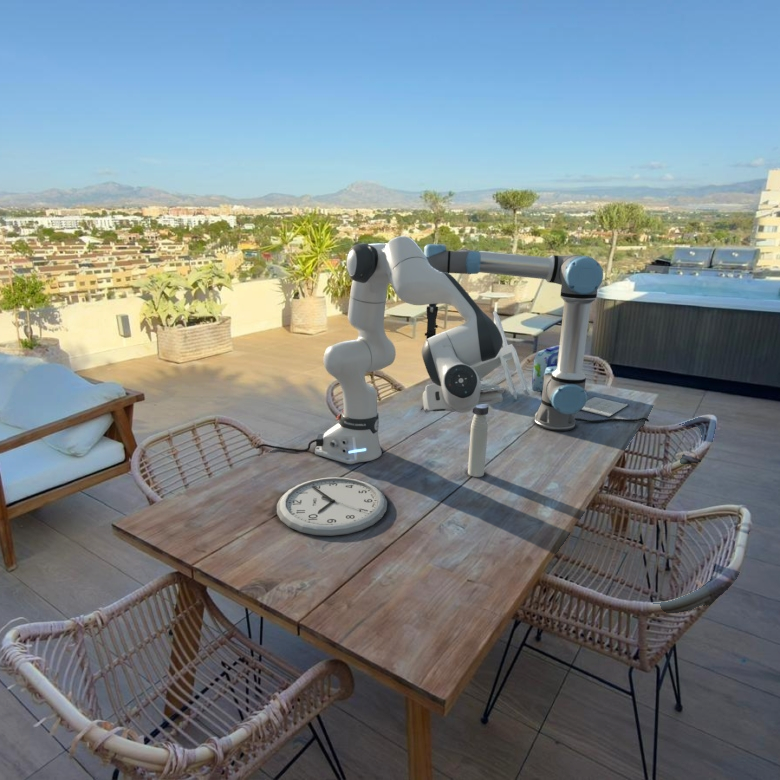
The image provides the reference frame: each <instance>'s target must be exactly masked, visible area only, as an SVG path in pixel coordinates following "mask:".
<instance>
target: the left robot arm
mask: <svg viewBox="0 0 780 780" xmlns="http://www.w3.org/2000/svg"><path fill="white" fill-rule="evenodd" d="M346 271H347V275H348V277H350V279H351V280H352V282H351V287H350V293H349V300H348V308H347V320H348V323H349V324H350V325H351V326H352V327H353V328H354V329H356V330H357V332H358V336H357V338H356V339H351V340H344V341H340V342H337V343H335V344H332V345H330V346H328V347H327V348H326V349H325V351H324V353H323V358H322V359H323V360H322V362H323V366H324V368H325V371H326V372H327V373H328V374H329V375H330V376H332V377H333V378H334V379H335V380H336V381H337V382H338V383H339V385H340V388H341V391H342V392H341V393H342V402H343V404H342V405H343V410H342V411H341V412H340V413H339V414H338V415H337V416H336V421H338V422H337V423H336V424H334V425H333V426H331V427H330V428H329V429H327V430H326V431H325V432H324V433H318V435H317V436H316V438H315V439H313V440H310V442H309V443H308V445H307V448H303V449H298V448H291V447H290V448H289V447H283V446H278V445H271V444H266V443H261V444H259V445H257V446H256V447H255V449H260V448H262V447H267V448H271V449H278V450H283V451H290V452H307V451H309V450H310V449H311V445H312V444H313V443H315V444H316V447H315V448H314V454H315V455H317V456H320V457H324V458H326V459H329V460H334V461H337V462H340V463H343V464H347V465H354V464H357V463H363V462H364V463H365V462H371V461H374V460H376V459H378V458H380V457H381V456H382V454H383V453H382V452H383V451H382V448H381V445H380V438H379V427H380V419H379V417H380V416H379V412H378V391H377V389H376V388H375V387H374V386H373V385H371V384H370V383H368V382H367V381H366V374H368V373H372V372H376V371H381V370H383V369H385V368H387V367H390V366H391V365H392V364H393V363H394V362H395V360H396V355H397V354H396V353H397V352H396V347H395V345H394V343H393V342H392V340H391V339H390V338H389V337H388V336H387V334H386V330H385V314H386V313H385V312H386V305H387V297H388V287H389V285H391V288H392V289H393V291H394V292H395V294H396V296H397V297H398V298H399V300H401V302H404V303H406V304H409V305H412V306H428V305H429V304H436V305H437V304H445V305H450V306H452V307H453V308H454V309H455V310H456V311H457V312H458V314H459V315H460V317H462V319H463V320H464V321H465V322H464V323H462V324H459V325H457V326H455V327H452V328H449V329H447V330H445V331H442V332H440V333H436V335H435V336H432V337H430V338H428V339H426V338H425V341H424V342H423V345H422V349H421V357H422V360H423V363H424V366H425V369H426V372H427V375H428V376H429V379H430V380H431V382H432V383H431V384H427V385H425V389H424V391H423V392H422V405H423V406H424V408H423V411H424V412H452V413H460V414H461V413H469V412H470V411H473V409H474V408H475V407H476V405H480V404H486V405H489V404H496V403H500V402H502V401H503V395H502V394H504V393H505V388H504V387H501V386H500V385H499V384H494V383H493V384H486V385H482V381H480V378H479V376H478V374H477V372H476V371H475V370H474V369H473V368H472V367H471V365H474V364H476V363H479V362H481V361H482V362H483V361H486V360H489V359H492V358H495V357H496V356H497V354H498V353H499V351H500V349H501V348H503V345H502V344H503V340H502V336H501V333H500V330H499V329H498V327H497V325H496V322H494V321H493V319H491V318H490V317H489V315H487V314H486V313H485V312H484V311H483V309H481V307H480V306H479V305H478V304H477V303H476V301H475V300H474V299H473V298H472V297H471V296H470V294H469V293H468V292H467V291H466V290H465V288H464V287H463V286H462V285H461V284H460V283H459V281H458V280H457V279H456V278H455V277H454V276H453V275H452V274H451V273H442V272H440V271H437V270H436V269H434V268H433V267H432V266H431V265H430V264H429V262H428V260H427V258H426V256H425V255H424V251H423V250H422V248H421V247H420V246H419V245H418V244H417V242H415V240H413V238H411V237H409V236H404V235H401V236H396V237H393V238H392V239H390V240H389V241H388V242H385V243H367V242H363V243H357V244H354V245H352V246H351V248H350V249H349V250H348V252H347V255H346ZM423 406H422V407H423Z"/></svg>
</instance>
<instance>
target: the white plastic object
mask: <svg viewBox="0 0 780 780" xmlns="http://www.w3.org/2000/svg"><path fill="white" fill-rule="evenodd" d="M492 315H493V319H494V321H495V324H496V326H497V327H498V329H499V330H500V333H501V336H502V340H503V344H502V347H501V349H500V351H499V353H498V354H497V356H496V357H495V358H492V359H489V360H486V361H483V362H482V361H481V362H479V363H476V364H474V365H471V367H472V368H473V369H474V370H475V371H476V372H477V374H478V376H479V378H480V382H482V381H484V378H485V377H486V376H487V375H489V374H490V373H492V372H494V371H495V370H496V369H497V368H499V367H500V366H502V370H503V373H504V376H505V380H506V383H507V386H508V390H509V393H510V394H511V395H512V397H513V398H514V399H515V400H517V392H516V391H517V390H516V388H515V385H514V381H513V378H512V375H511V371H510V369H509V365H508V361H510V360H513V363H514V366H515V369H516V372H517V376H518V380H519V382H520V385H521V389H522V391H523V393H524V395H525V396H526V397H528V396H531V395H530V390H529V388H528V387H529V386H528V384H527V381H526V378H525V375H524V371H523V369H522V368H523V367H522V366H521V362H520V359H519V355H518V352H517V349H516V347H515V346H514V345H513V343H511V344H508V341H507V337H506V334H505V331H504V328H503V325H502V321H501V318H500V315H499V314H498V312H497V311H496V310H495V311H492Z"/></svg>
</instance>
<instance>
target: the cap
mask: <svg viewBox="0 0 780 780" xmlns="http://www.w3.org/2000/svg"><path fill="white" fill-rule="evenodd" d="M472 413H473V415H475V414H477V415H486V416H487V415H488V414H489V404H480V405H476V407H475V408H474V409H472Z"/></svg>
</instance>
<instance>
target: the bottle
mask: <svg viewBox="0 0 780 780" xmlns="http://www.w3.org/2000/svg"><path fill="white" fill-rule="evenodd" d="M487 418H488V417H487V414H486V415H477V414H473V417H472V420H471V421H472V422H471V424H470V435H469V448H468V449H469V450H468V464H467V474H468V476H471V477H474V478H481V477H483V476H484V475H485V468H486V467H485V466H486V456H487V455H486V454H487V441H488V429H489V428H488V426H489V423H488V419H487Z"/></svg>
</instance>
